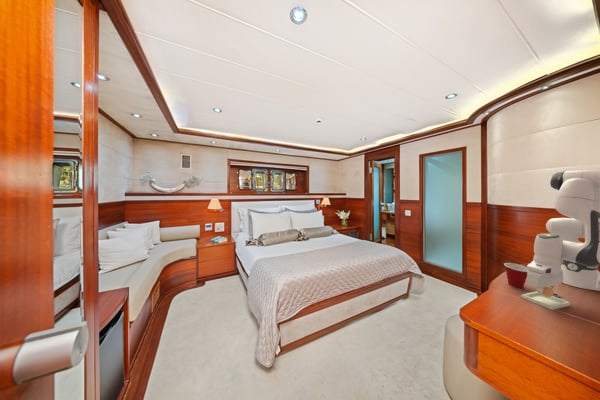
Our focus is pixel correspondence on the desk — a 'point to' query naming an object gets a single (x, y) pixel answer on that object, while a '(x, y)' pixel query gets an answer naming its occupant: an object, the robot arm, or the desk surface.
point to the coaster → (557, 296)
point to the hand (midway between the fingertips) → (545, 293)
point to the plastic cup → (516, 274)
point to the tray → (545, 300)
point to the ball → (547, 292)
